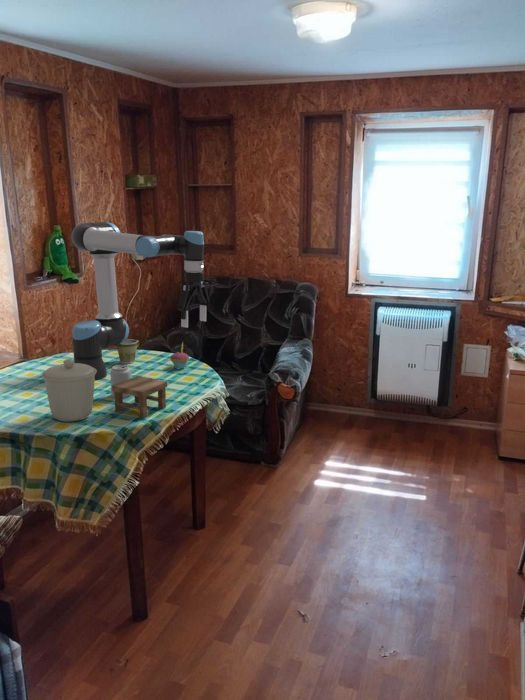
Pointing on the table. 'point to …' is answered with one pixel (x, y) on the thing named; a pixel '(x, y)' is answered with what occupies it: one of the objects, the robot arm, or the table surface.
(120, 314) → the robot arm
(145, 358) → the table surface
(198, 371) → the table surface
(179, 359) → the cupcake
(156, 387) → the stool
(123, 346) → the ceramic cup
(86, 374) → the canister
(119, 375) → the can
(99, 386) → the table surface
